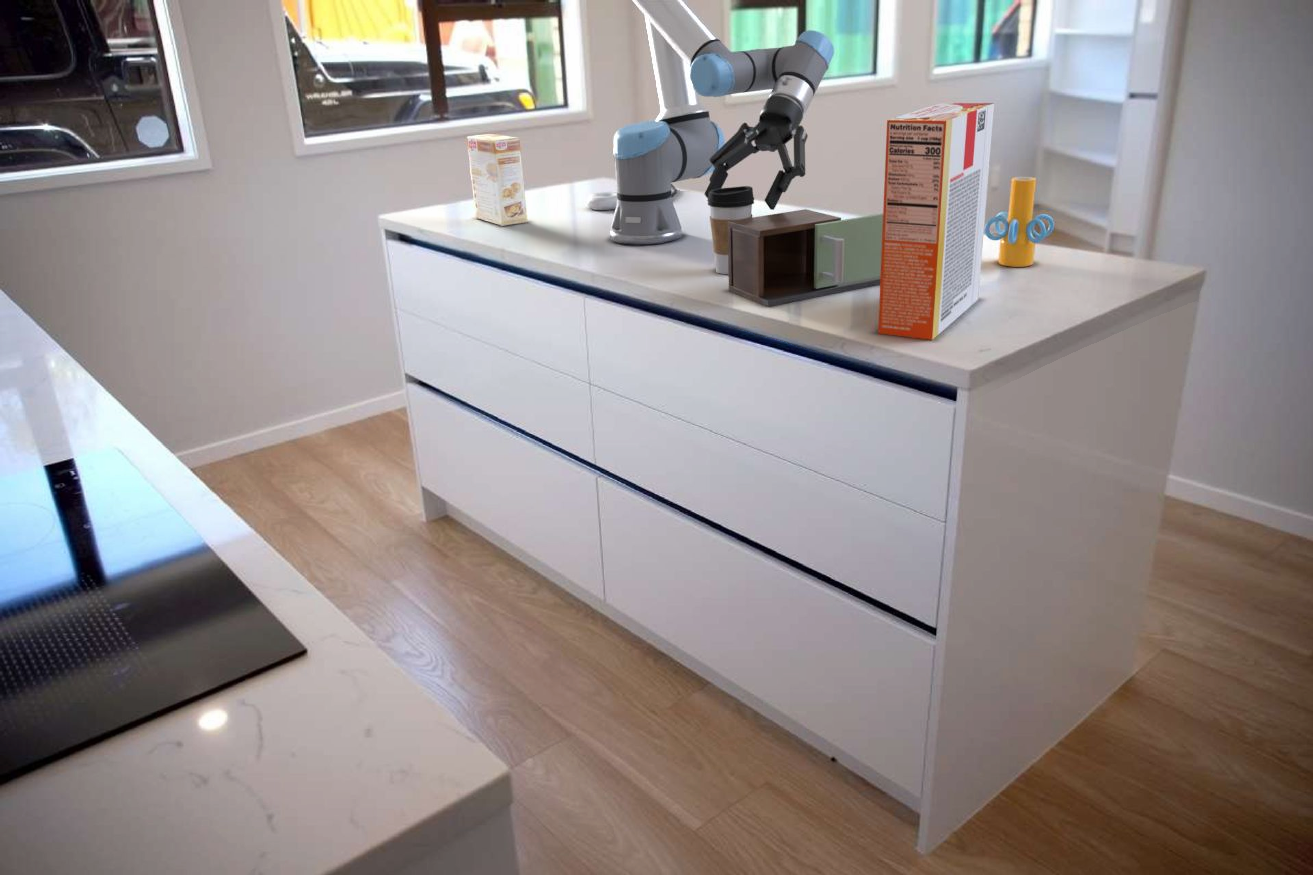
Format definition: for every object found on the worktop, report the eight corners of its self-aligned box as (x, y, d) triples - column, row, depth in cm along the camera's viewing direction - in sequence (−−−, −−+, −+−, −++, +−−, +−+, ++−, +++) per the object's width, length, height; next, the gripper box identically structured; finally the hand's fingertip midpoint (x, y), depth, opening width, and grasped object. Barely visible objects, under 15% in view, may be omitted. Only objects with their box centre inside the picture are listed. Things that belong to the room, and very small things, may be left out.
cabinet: (728, 291, 171) (727, 221, 167) (854, 267, 183) (856, 201, 178) (767, 306, 161) (767, 233, 157) (898, 280, 173) (902, 211, 168)
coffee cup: (752, 276, 180) (751, 192, 174) (705, 276, 182) (703, 192, 176) (757, 265, 187) (756, 184, 182) (712, 265, 189) (710, 184, 183)
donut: (585, 213, 245) (626, 210, 245) (584, 198, 244) (625, 196, 243) (588, 205, 254) (627, 203, 254) (587, 191, 253) (626, 189, 252)
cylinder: (1037, 274, 172) (1047, 186, 166) (977, 268, 178) (984, 183, 172) (1053, 258, 182) (1063, 174, 176) (995, 253, 187) (1002, 172, 181)
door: (813, 288, 166) (814, 224, 162) (887, 273, 172) (890, 212, 168) (834, 295, 161) (835, 229, 157) (909, 280, 168) (912, 217, 164)
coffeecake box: (528, 222, 237) (520, 137, 229) (501, 226, 233) (492, 140, 225) (501, 214, 248) (492, 132, 240) (474, 218, 245) (465, 136, 237)
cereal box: (928, 294, 164) (940, 103, 152) (978, 299, 160) (994, 103, 148) (878, 333, 146) (887, 120, 134) (932, 340, 142) (946, 121, 130)
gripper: (723, 92, 191) (676, 184, 187) (836, 95, 176) (787, 195, 171) (740, 118, 197) (694, 207, 192) (850, 123, 181) (803, 220, 177)
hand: (738, 202), depth 182 cm, fingers open, 13 cm apart
